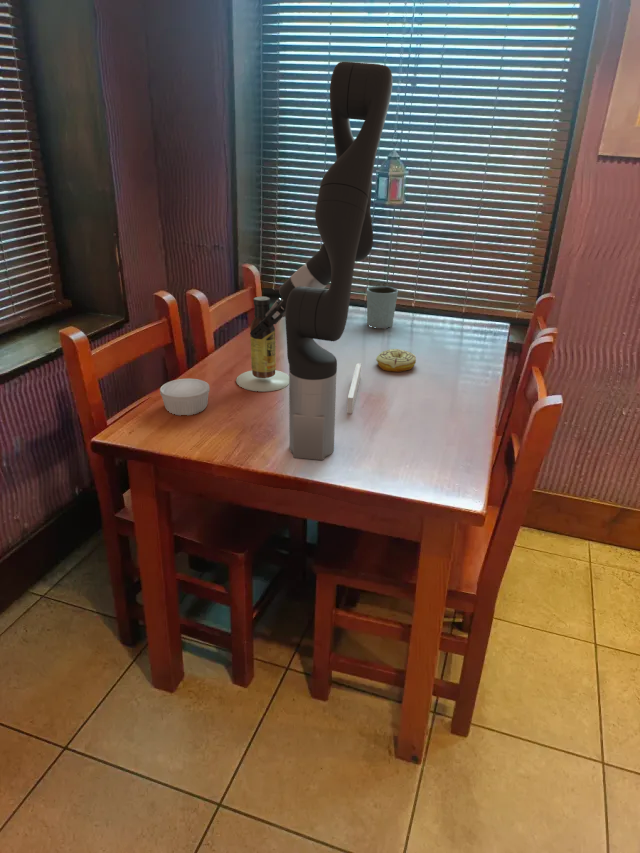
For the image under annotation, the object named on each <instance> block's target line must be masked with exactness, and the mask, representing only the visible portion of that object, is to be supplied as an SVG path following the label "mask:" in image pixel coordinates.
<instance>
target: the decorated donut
mask: <svg viewBox="0 0 640 853" xmlns="http://www.w3.org/2000/svg"><path fill="white" fill-rule="evenodd" d="M416 357H417V356H416V355H415V354H413V353H412V352H410V351H407V350H405V349H404V350H403V349H399V348H395V349H394V348H391V349H387V350H384V351H381V353H379V354H378V355H377V356H376V362H377V364H378V366H379V368H380V369H381V370H384V371H387V372H397V373H400V372H406V371H410V370H411V369H413V367H415V365H416V363H417V358H416Z"/></svg>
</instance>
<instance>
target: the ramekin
mask: <svg viewBox="0 0 640 853" xmlns="http://www.w3.org/2000/svg"><path fill="white" fill-rule="evenodd" d="M210 389H211V388H210V384H209V383H208V382H206V381H204V380H202V379H198V378H180V379H179V378H178V379H174V380H170V381H167V382H166V383H164V384H162V386H161V387H159V393H160V396H161V398H162V401H163V405H164V408H165V409H166V410H167V412H168V411H169V412H168V413H170V414H171V413H172V415H174V414H175V416H181V415H187V416H193V414H194V415H197V414H200V413H201V412H202V411H205V409H206V408H207V406H208V402H209V400H208V399H209V393H210V391H211V390H210ZM199 412H200V413H199Z"/></svg>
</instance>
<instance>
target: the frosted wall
mask: <svg viewBox="0 0 640 853" xmlns="http://www.w3.org/2000/svg"><path fill="white" fill-rule="evenodd" d="M361 373H362V363H361V362H360V363H359V362H358V363H357V362H356V365H355V368H354V372H353V375H352V379H351V384H350V387H349V391H348V395H347V402H346V403H347V405H346V406H347V407H346V413H347V414H350V415H351V414H353V411H354V407H355V403H356V399H357V394H358V390H359V386H360V385H359V384H360V381H361V375H362V374H361Z"/></svg>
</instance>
